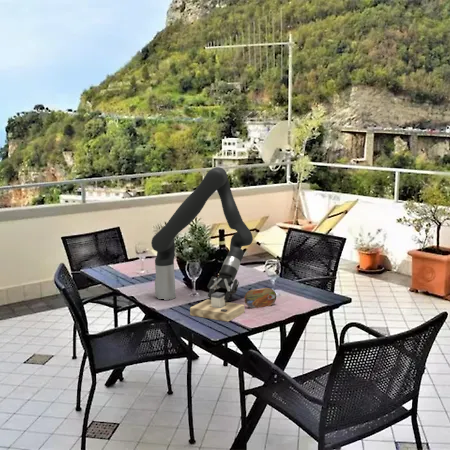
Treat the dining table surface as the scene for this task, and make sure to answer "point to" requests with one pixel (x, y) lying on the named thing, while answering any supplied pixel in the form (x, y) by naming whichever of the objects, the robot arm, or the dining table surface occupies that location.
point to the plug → (217, 300)
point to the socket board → (217, 311)
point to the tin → (260, 297)
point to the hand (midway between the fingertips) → (217, 298)
